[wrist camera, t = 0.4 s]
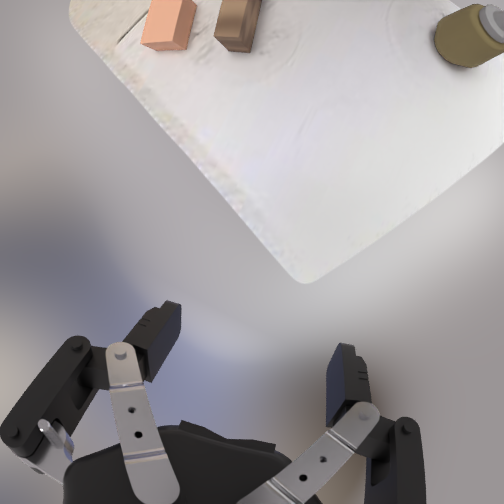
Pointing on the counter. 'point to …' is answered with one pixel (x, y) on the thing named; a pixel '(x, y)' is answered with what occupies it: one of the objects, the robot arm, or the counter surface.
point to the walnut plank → (237, 24)
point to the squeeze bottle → (471, 35)
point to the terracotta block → (168, 24)
